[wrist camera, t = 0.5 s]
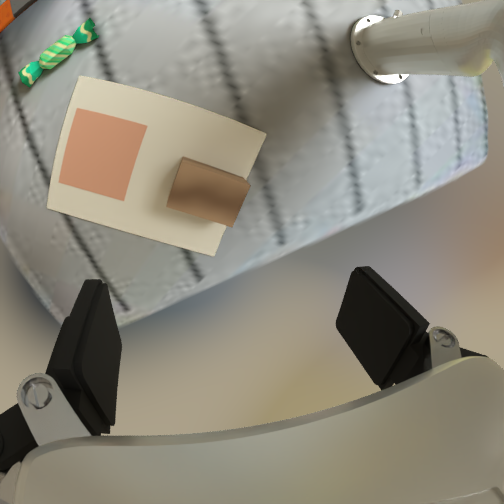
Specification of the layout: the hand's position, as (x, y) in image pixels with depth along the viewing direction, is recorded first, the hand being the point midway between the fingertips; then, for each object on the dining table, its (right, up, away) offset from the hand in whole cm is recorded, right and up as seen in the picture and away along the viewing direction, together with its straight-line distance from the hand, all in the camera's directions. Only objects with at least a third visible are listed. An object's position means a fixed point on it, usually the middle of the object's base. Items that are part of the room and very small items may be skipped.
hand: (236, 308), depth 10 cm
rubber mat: (-14, +14, +24) cm, 31 cm away
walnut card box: (-6, +11, +27) cm, 30 cm away
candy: (-26, +30, +13) cm, 41 cm away
